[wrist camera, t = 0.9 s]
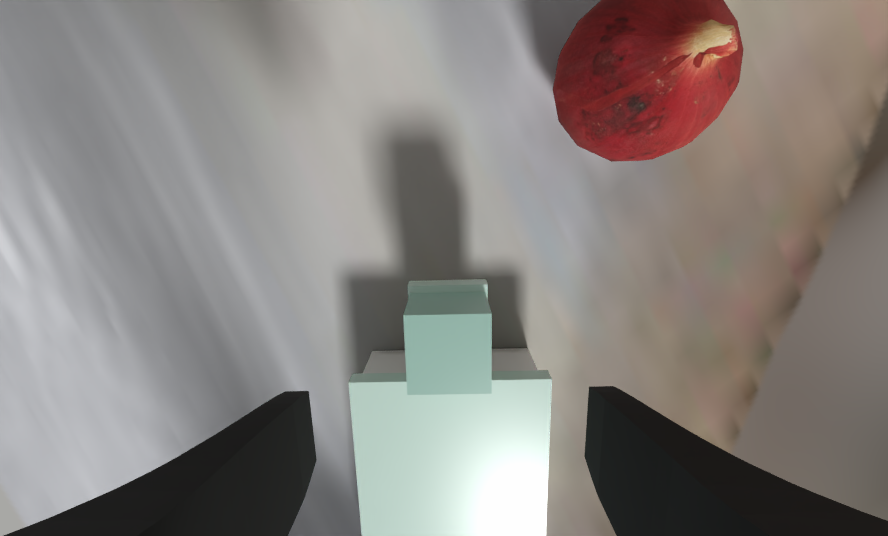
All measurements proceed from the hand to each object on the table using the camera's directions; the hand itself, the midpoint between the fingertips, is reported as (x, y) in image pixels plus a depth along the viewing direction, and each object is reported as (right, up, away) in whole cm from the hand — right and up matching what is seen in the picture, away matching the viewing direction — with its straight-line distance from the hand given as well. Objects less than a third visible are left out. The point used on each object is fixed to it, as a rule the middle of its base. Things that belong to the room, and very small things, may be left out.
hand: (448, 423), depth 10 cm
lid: (0, -5, +10) cm, 11 cm away
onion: (+7, +12, +8) cm, 16 cm away
